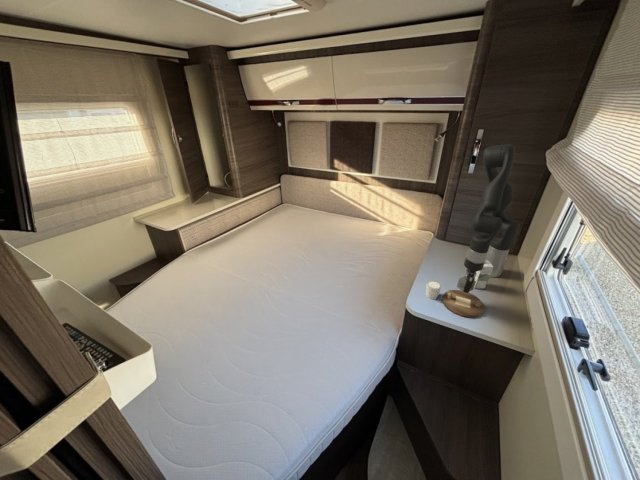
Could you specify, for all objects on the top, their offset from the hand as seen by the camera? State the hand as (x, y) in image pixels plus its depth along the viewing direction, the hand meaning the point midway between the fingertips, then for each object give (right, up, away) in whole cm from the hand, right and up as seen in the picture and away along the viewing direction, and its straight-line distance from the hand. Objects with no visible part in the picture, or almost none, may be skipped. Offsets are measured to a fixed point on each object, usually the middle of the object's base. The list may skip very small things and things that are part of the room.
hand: (466, 287), depth 124 cm
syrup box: (+15, -2, +17) cm, 23 cm away
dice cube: (0, -1, +1) cm, 1 cm away
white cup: (-12, -6, +11) cm, 17 cm away
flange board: (+1, -9, +5) cm, 10 cm away
